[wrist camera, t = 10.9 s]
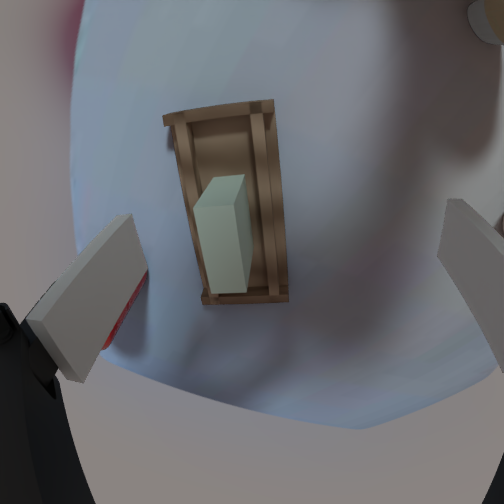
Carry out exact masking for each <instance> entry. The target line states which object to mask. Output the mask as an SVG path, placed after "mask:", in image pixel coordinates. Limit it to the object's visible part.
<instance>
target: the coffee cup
mask: <svg viewBox="0 0 504 504" xmlns="http://www.w3.org/2000/svg"><path fill="white" fill-rule="evenodd" d="M467 16H468V20H469V23H470V26H471V27H472V29H473V31H474V32H475V34H476V35H477V36H478V37H479V38H480V39H481V40H482V41H484V42H486V43H489V44H497V45H504V0H477V1H475V2H473V3H472V4H470V5H469V7H468V9H467Z"/></svg>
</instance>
